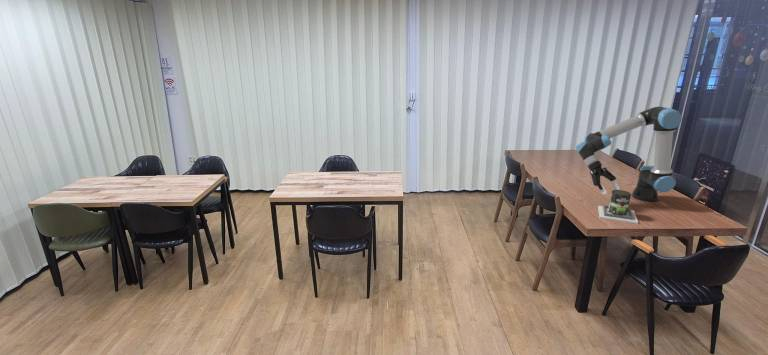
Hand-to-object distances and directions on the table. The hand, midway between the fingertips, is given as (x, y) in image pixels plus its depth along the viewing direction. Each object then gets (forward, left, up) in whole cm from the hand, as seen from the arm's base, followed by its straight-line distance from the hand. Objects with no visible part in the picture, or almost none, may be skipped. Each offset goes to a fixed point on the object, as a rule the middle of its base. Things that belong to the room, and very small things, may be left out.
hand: (612, 191), depth 228 cm
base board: (-5, +2, -14) cm, 15 cm away
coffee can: (-5, +2, -13) cm, 14 cm away
